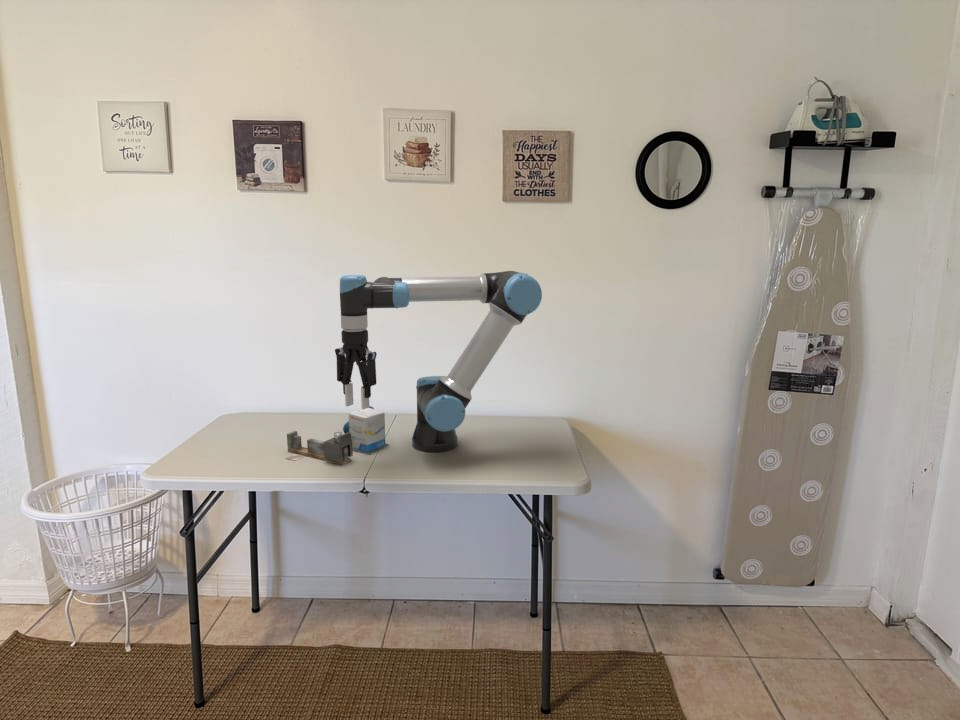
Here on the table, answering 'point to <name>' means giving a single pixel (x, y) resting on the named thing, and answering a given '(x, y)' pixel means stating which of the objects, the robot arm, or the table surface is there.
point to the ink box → (367, 429)
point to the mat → (369, 451)
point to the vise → (310, 449)
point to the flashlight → (346, 426)
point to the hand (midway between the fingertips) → (357, 406)
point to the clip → (338, 446)
